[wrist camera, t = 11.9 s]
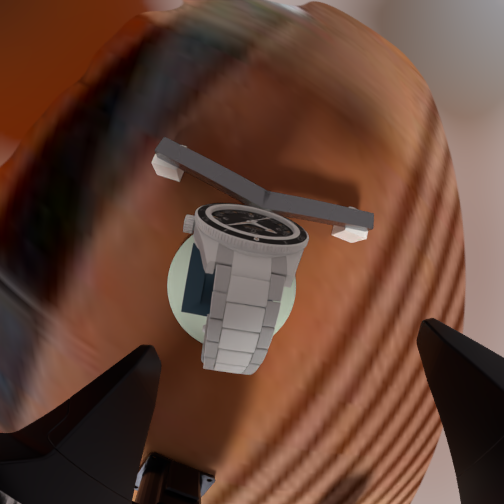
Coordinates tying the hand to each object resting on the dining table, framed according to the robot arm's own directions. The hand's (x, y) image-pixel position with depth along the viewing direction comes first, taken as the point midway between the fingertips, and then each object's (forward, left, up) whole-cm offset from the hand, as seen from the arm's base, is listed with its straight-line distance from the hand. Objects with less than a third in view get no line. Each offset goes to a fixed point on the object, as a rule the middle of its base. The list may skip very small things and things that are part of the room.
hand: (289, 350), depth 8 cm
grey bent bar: (+8, +3, -10) cm, 13 cm away
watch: (+1, +2, -12) cm, 12 cm away
